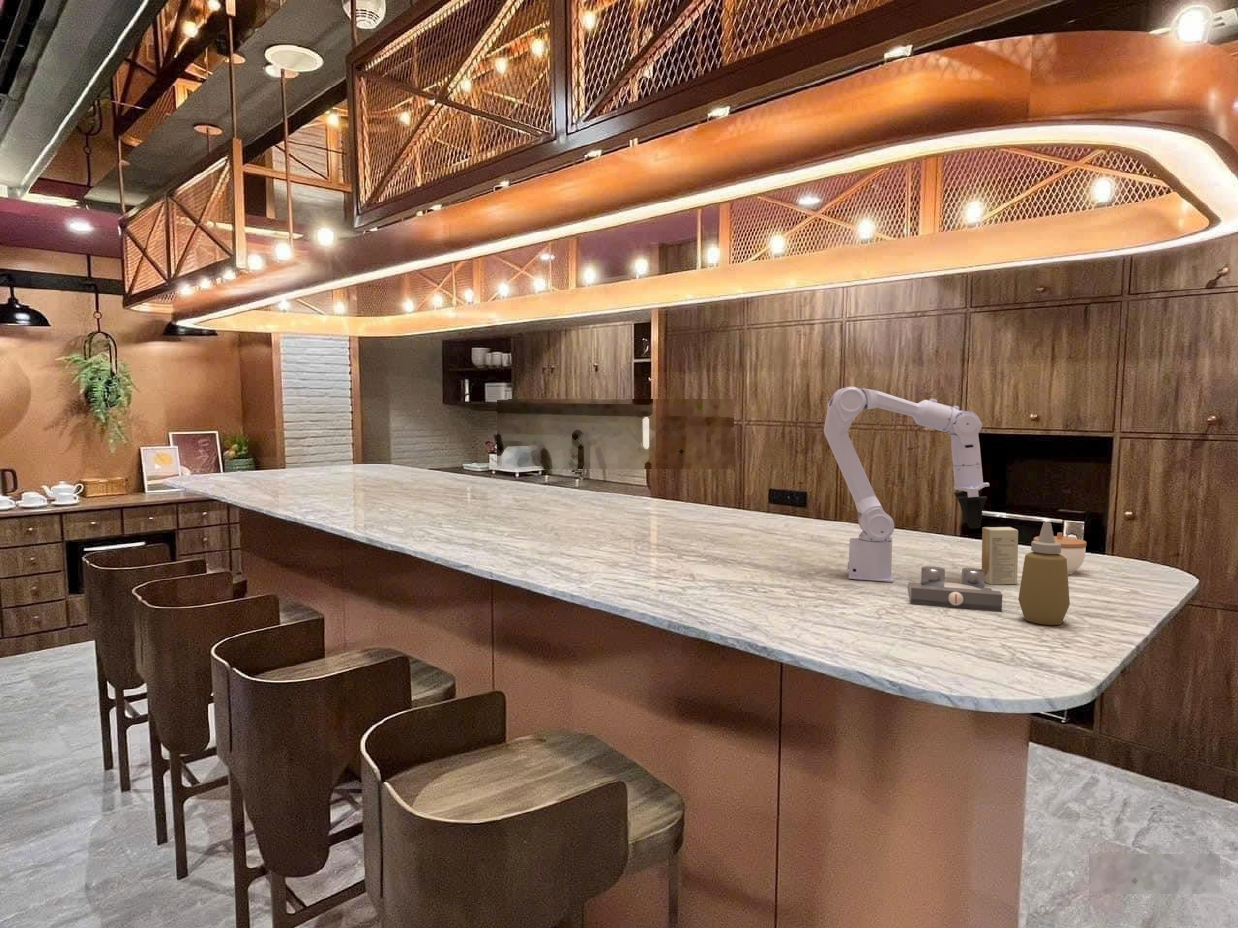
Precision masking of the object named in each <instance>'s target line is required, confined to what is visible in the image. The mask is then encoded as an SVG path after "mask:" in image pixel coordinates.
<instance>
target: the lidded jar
mask: <svg viewBox="0 0 1238 928" xmlns="http://www.w3.org/2000/svg"><path fill="white" fill-rule="evenodd" d="M1063 534H1064V533H1063V532H1057V534H1056V535H1053V536H1054V541H1055V542H1057V543H1060V544H1061V553H1059V554H1060V555H1062V556H1064V557H1065V558H1066V559H1067V571H1068V576H1070V575H1074V573H1075V572H1077V570H1079V569H1080V568H1081V566H1082V565H1083V564H1084V561H1085V557H1086V552H1087V551H1086V547H1087V541H1086V540H1083V539H1080V538H1076V537H1069V536H1063ZM1039 536H1040V535H1039ZM1039 536H1035V537H1033V540H1032V541H1038V539H1039Z"/></svg>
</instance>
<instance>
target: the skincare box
mask: <svg viewBox="0 0 1238 928" xmlns="http://www.w3.org/2000/svg"><path fill="white" fill-rule="evenodd" d="M981 531H982V533H981V534H982V535H981V538H982V539H981V540H982V541H981V569H982V570H984V571H985V583H987V584H988V585H1017V584H1018V567H1019V566H1018V565H1019V564H1018V562H1019V561H1018V560H1019V559H1018V557H1019V553H1018V552H1019V530H1018V529H1016V528H1013V527H1011V526H996V527H995V526H994V527H993V526H991V527H990V526H984V527H982V529H981Z"/></svg>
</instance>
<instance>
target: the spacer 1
mask: <svg viewBox="0 0 1238 928" xmlns="http://www.w3.org/2000/svg"><path fill="white" fill-rule="evenodd" d="M920 573H921V575H920V576H921V577H920V583H921V585H925V586H938V587H944V582H945V579H946V577H945V576H946V575H945V573H946V570H945V568H943V567H939V566H932V565H931V566H930V565H929V566H928V565H927V566H922V567H921V572H920Z"/></svg>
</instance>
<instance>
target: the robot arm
mask: <svg viewBox="0 0 1238 928" xmlns="http://www.w3.org/2000/svg"><path fill="white" fill-rule="evenodd" d="M826 408H827V410H826V411H827V412H826V415H825V420H824V421H825V422H824V426H823V434H824V436H825V439H826V441H827V443H828V445H829V447H830V449H831V452H832V455H833V456H834V459H835V460H836V463H837V465H838V467H839V470H840V471H841V474H842V477H843V480H844V481H845V483H846V485H847V487H848V490H849V492H850V494H851V496H852V499H853V501H854V504H855V508H856V510H857V513H858V525H859V526H858V527H860V529H861V530H862V531H861V532H860V533H859V534H858V537H856V538H855V537H851V538H850V537H849V545H848V546H849V547H848V548H849V550H848V562H847V571H848V577H847V578H848V579H849V580H850V579H851V580H861V581H863V580H864V581H873V582H875V581H876V582H886V583H887V582H888V583H893V582H894V572H892V567H893V562H892V559H893V537H892V535H893V534H894V532H895V531H894V530H895V521H894V520H893V518H892V516H890V515H889V514H888V513H886V512H885V510H884V508H883V506H882V504H881V502H880V501H879V499H878V497H877V496H876V493H875V491H874V490H873V489H874V488H873V487H872V485H871V483H870V480H869V478H868V476H867V474H866V471H865V469H864V467H863V465H862V463H861V460H860V458H859V456H858V453H857V451H856V449H855V447H854V445H853V443H852V440H851V438H850V436H849V434H848V433H849V429H850V428H851V425H852V423H853V422H854V419H855V418H856V417H857V416H858V415H859V414H860V413H861V412H862V411H863V410H865V411H866V410H872V409H882V410H886V411H889V412H893V413H897V414H901V415H905V416H908V417H912V419H913V421H914V422H915V424H916V425H917V426H922V427H926V428H928V429H933V430H935V431H940V432H943V433H946V432H947V434H949V435H950V443H951V444H950V449H951V459H952V460H951V461H952V471H953V479H954V481H953V483H954V485H953V488H954V490H956V491H957V492H956V491H955V492H954V493H953V495H954V496H955V497H956V499H957V501H958V503H959V506H960V509H961V511H962V517H963V519H964V522H965V523H966V524H967V525H968V528H969V529H970V530H973V529H981V525H982V516H983V511H984V507H985V504H986V502H987V499H988V497H987V495H984V496H982V492H983V491H982V489H983V488H985V487H986V488H987V487H990V483H989V482H984V479H983V478H984V476H983V467H982V457H981V456H982V455H981V446H980V445H981V444H980V438H979V433H980V431H981V430H982V429H983V428H982V427H983V422H982V421H981V419H980V417H979V415H977V414H976V412H973V411H971V410H961V409H960V407H959V406H958V405H953V406H950V405H947V404H944V403H943V404H942V403H939V402H938V399H936V398H930V399H923V400H921V401H919V402H917V403H916V402H914V401H911V400H907V399H904V398H901V397H899V396H894V395H892V394H889V393H887V392H886V393H885V392H884V391H879V390H876V389H875V390H874V389H869V388H858V387H857V386H847V387H842V388H839V389H838V390H836V391H835V392H834V393H833V394H832V397H831V398H830V400H829V401H828V403H827V407H826Z"/></svg>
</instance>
